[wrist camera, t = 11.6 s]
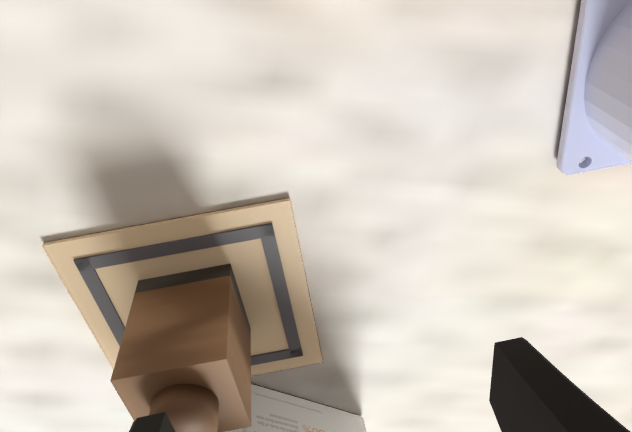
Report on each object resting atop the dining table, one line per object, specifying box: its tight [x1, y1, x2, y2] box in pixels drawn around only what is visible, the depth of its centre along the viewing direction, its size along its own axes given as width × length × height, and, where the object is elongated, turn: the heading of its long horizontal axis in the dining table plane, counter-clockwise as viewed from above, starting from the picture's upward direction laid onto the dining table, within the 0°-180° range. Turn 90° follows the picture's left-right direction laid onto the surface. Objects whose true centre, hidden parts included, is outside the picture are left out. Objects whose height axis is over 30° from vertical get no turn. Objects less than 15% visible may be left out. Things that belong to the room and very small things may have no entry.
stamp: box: [111, 263, 251, 432], centre depth 20 cm, size 4×4×6 cm
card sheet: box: [42, 198, 323, 376], centre depth 23 cm, size 10×10×1 cm
